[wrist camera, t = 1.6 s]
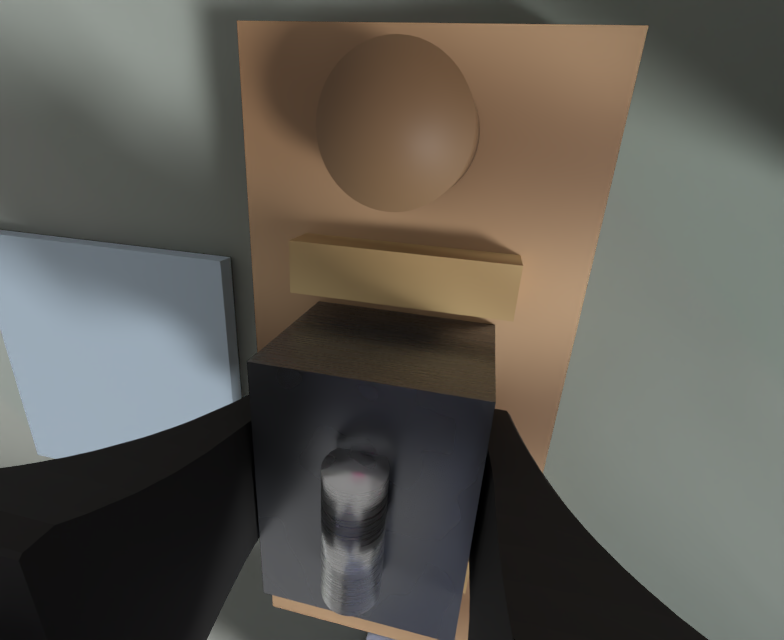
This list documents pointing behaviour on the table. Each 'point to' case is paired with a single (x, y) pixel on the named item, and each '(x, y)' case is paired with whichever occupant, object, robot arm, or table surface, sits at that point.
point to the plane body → (436, 187)
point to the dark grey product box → (372, 461)
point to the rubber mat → (114, 338)
